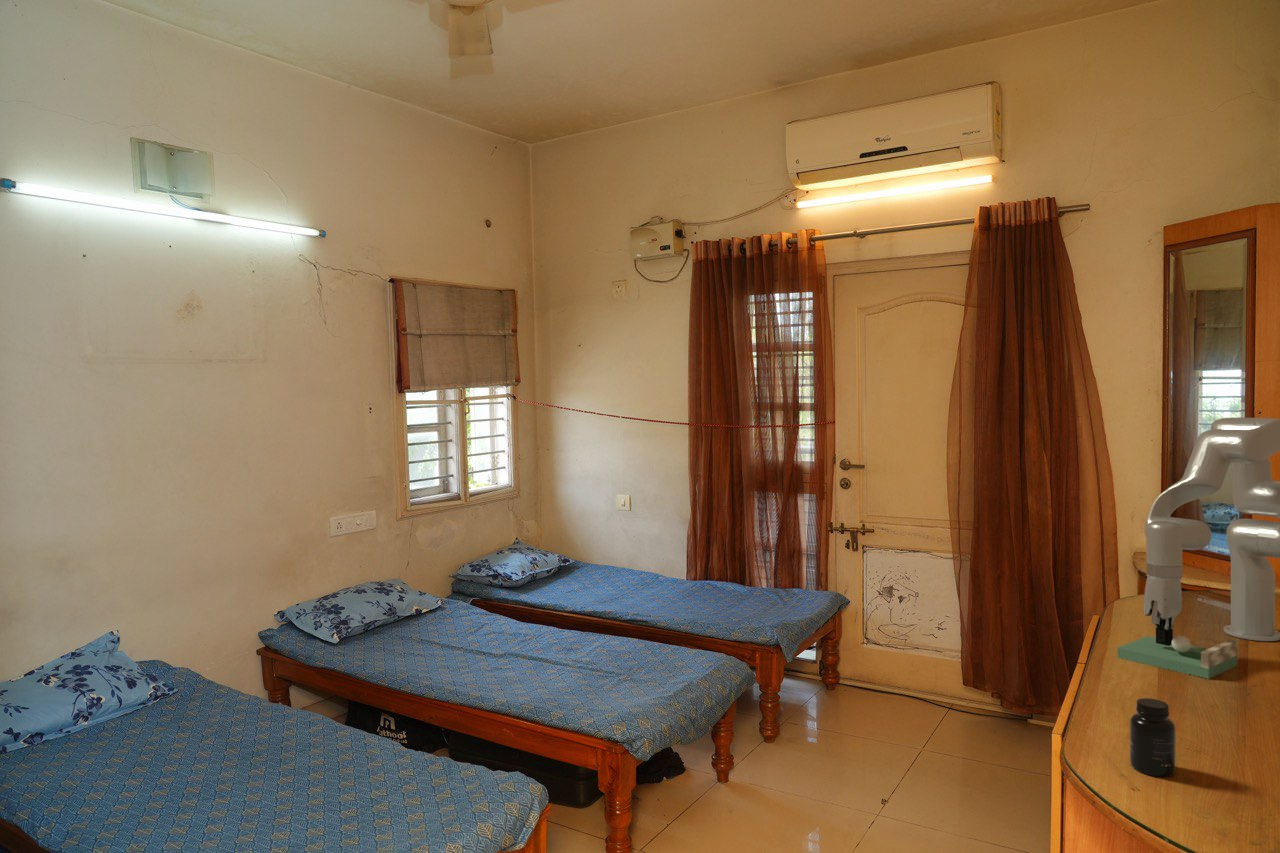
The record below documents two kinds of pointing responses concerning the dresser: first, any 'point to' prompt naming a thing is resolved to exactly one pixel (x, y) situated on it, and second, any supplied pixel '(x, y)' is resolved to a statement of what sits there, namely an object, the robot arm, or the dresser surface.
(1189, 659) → the putting green
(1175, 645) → the ball
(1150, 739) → the supplement bottle
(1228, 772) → the dresser surface
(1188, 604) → the dresser surface
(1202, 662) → the backboard
